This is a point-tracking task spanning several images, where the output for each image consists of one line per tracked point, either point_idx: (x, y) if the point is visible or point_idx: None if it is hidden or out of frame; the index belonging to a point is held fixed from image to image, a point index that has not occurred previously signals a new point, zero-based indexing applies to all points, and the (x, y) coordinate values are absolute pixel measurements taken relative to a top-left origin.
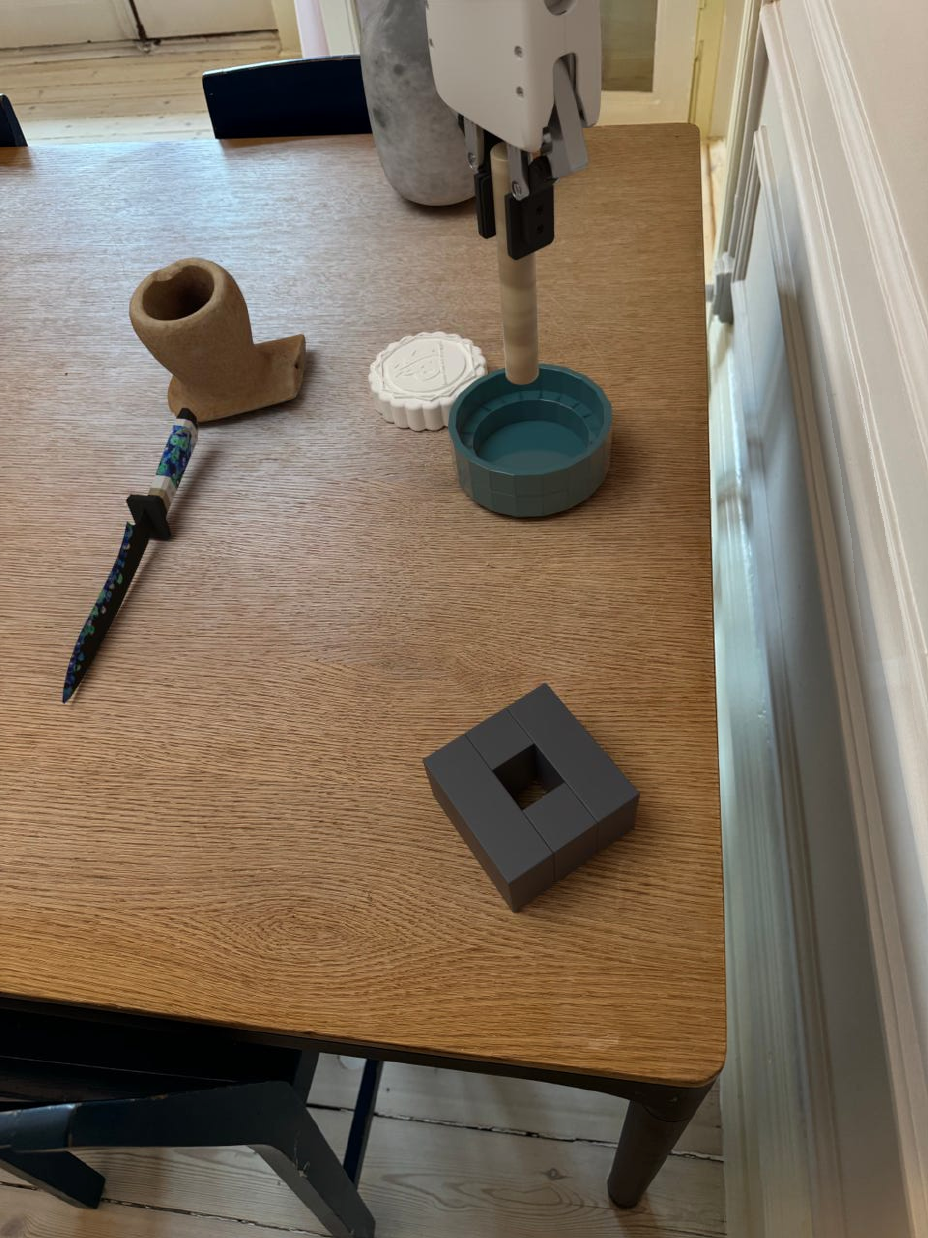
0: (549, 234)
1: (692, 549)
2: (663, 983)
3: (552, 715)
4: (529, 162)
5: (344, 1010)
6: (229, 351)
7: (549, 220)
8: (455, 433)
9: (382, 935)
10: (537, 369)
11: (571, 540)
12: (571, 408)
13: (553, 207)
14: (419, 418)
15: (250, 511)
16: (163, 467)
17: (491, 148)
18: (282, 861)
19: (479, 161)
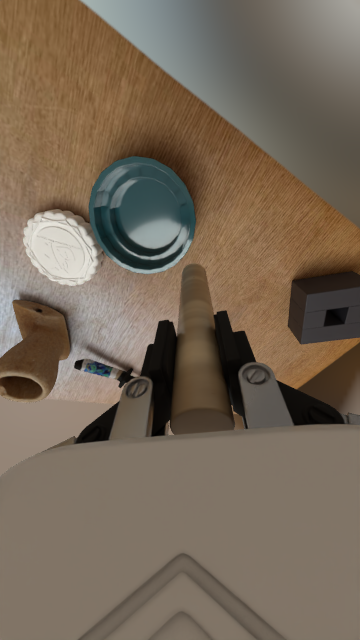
0: (244, 331)
1: (256, 154)
2: None
3: (322, 299)
4: (228, 404)
5: (324, 364)
6: (51, 357)
7: (247, 341)
8: (139, 270)
9: (315, 351)
10: (203, 269)
11: (211, 222)
12: (129, 179)
13: (232, 332)
14: (98, 267)
15: (128, 343)
16: (105, 375)
17: (156, 420)
18: (275, 366)
19: (167, 427)
